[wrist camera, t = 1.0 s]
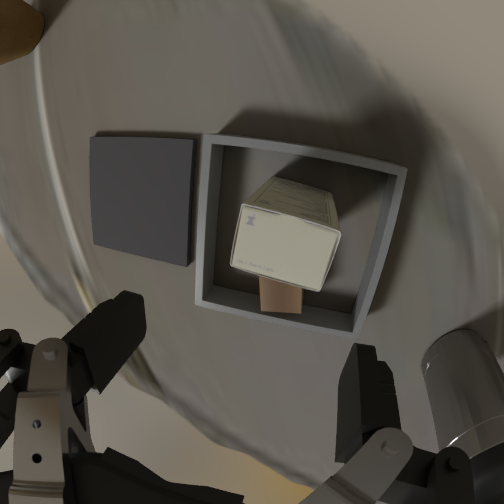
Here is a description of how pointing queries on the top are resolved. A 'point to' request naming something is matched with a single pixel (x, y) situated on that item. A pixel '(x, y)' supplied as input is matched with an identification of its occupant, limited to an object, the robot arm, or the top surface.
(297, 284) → the skincare box
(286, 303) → the walnut block
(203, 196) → the parts bin
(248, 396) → the top surface
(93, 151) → the place mat
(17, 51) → the plant pot
